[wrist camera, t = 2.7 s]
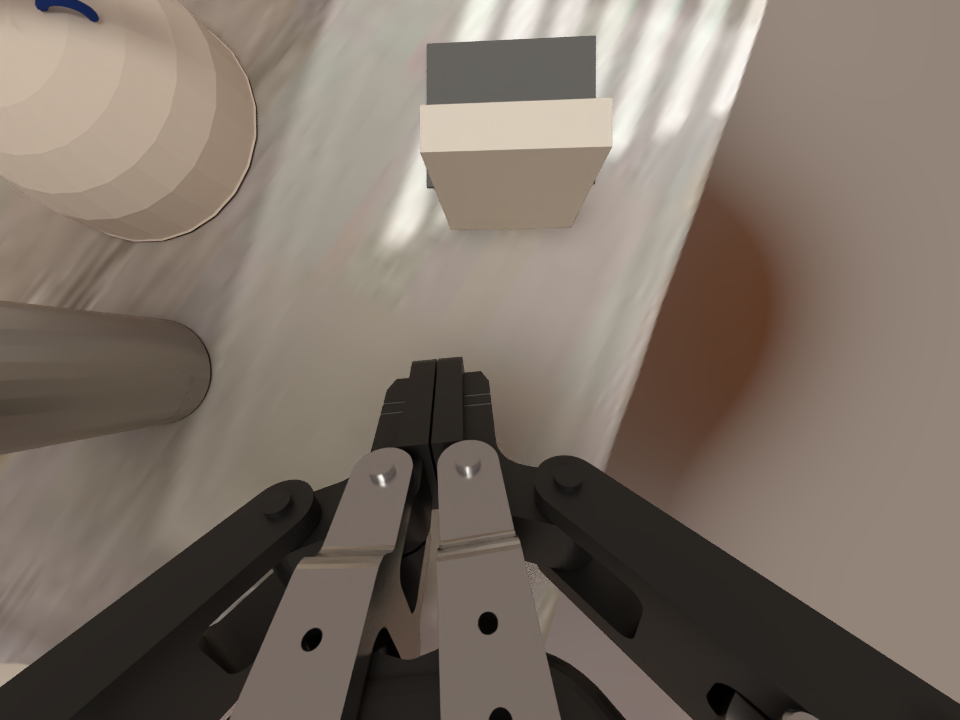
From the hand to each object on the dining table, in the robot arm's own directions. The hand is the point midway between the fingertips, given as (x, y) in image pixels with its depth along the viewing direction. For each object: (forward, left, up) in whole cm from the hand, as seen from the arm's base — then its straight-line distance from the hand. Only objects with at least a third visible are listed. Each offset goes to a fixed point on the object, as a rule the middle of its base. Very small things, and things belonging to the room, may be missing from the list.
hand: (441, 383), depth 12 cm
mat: (-9, +20, -20) cm, 29 cm away
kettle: (-36, +3, -20) cm, 42 cm away
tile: (-4, +12, -20) cm, 24 cm away
